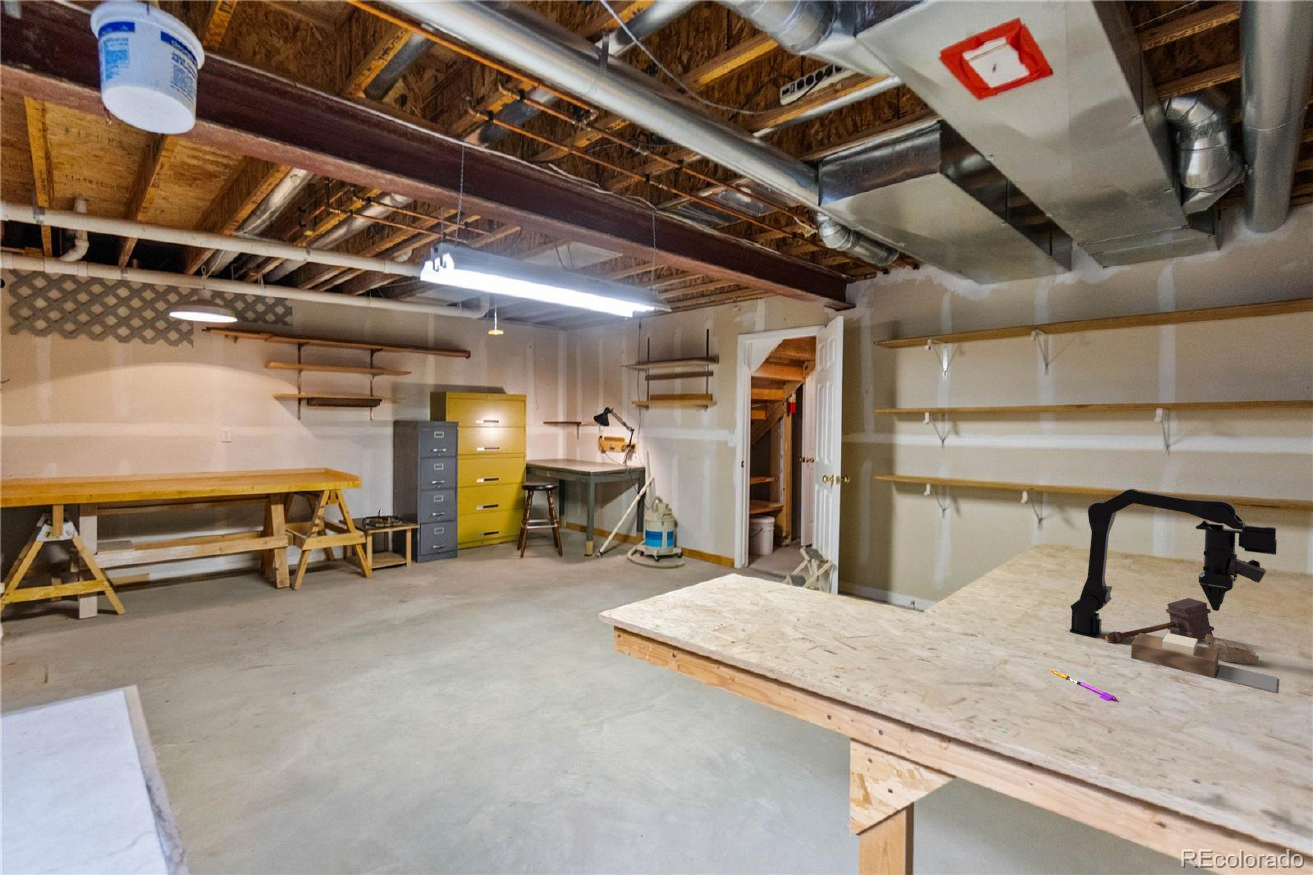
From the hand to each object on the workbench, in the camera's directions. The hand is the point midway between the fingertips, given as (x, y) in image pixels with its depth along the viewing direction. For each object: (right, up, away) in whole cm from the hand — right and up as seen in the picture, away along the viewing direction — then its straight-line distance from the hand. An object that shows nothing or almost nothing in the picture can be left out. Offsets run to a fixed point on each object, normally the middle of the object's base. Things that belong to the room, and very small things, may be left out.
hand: (1217, 607), depth 153 cm
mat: (-2, -15, -10) cm, 18 cm away
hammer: (-2, -15, +16) cm, 22 cm away
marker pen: (-47, -15, -15) cm, 52 cm away
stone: (+6, -15, +4) cm, 17 cm away
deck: (-11, -15, 0) cm, 18 cm away
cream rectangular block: (-10, -11, 0) cm, 15 cm away
